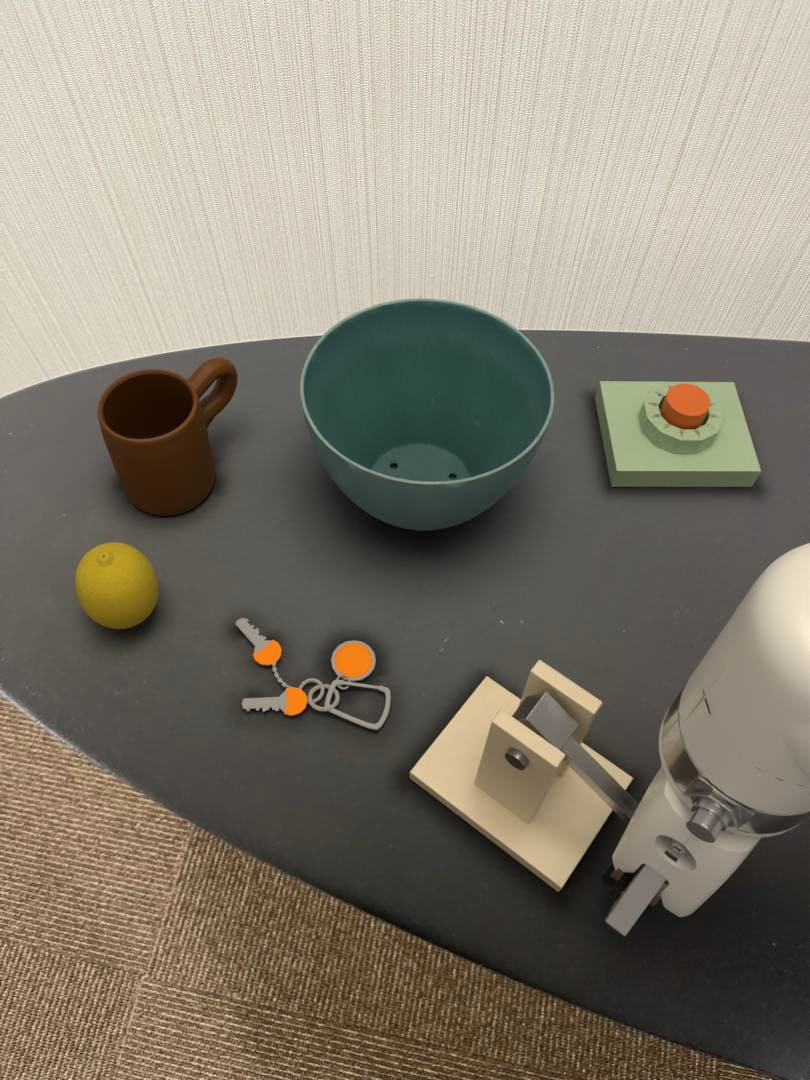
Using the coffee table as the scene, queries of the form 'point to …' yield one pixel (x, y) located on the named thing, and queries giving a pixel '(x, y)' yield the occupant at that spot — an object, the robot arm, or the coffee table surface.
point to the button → (685, 406)
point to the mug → (165, 433)
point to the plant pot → (425, 409)
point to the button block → (674, 438)
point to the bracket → (519, 776)
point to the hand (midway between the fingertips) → (648, 852)
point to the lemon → (116, 585)
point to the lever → (573, 750)
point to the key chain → (347, 663)
